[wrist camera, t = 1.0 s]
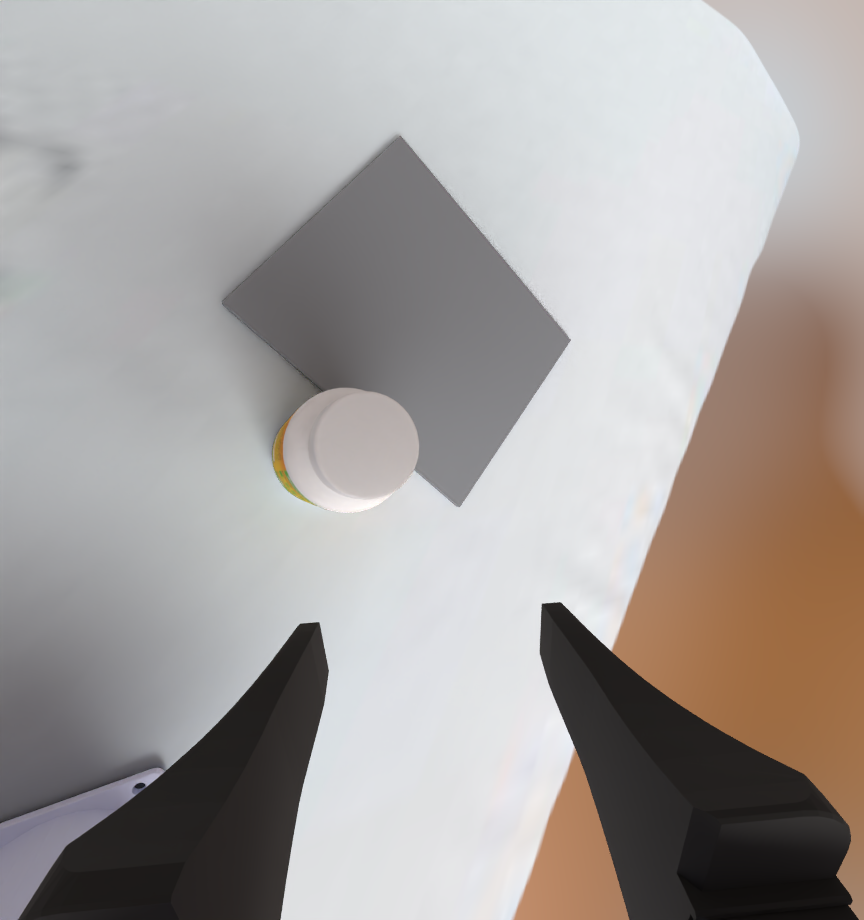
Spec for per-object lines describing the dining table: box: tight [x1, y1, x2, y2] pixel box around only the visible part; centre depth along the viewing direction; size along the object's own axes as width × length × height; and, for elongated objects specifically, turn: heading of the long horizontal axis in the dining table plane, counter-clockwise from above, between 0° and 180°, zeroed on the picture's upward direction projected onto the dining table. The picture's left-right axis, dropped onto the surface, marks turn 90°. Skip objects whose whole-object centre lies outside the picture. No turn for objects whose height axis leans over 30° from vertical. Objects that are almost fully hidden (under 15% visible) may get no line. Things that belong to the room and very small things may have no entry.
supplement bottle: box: [272, 388, 419, 513], centre depth 19 cm, size 5×5×10 cm
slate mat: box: [222, 136, 570, 507], centre depth 27 cm, size 16×18×1 cm
